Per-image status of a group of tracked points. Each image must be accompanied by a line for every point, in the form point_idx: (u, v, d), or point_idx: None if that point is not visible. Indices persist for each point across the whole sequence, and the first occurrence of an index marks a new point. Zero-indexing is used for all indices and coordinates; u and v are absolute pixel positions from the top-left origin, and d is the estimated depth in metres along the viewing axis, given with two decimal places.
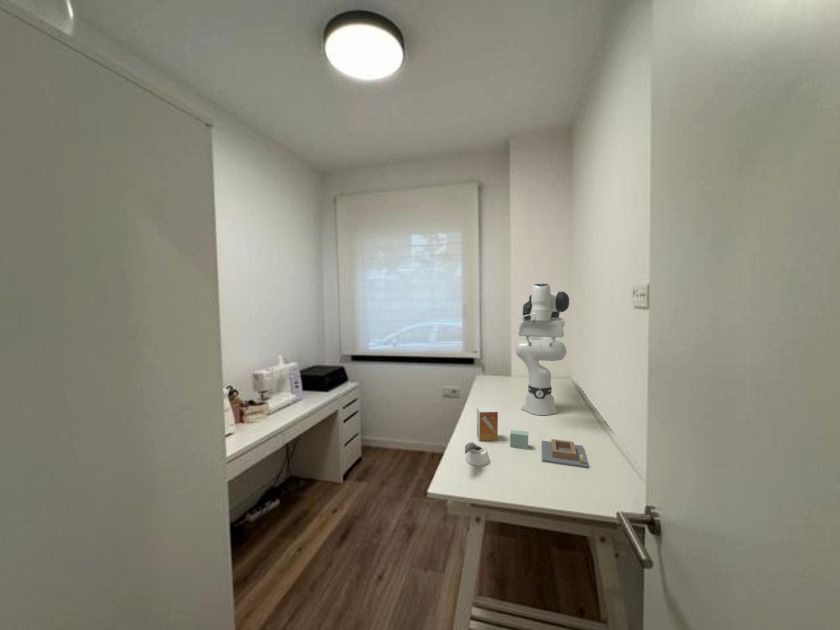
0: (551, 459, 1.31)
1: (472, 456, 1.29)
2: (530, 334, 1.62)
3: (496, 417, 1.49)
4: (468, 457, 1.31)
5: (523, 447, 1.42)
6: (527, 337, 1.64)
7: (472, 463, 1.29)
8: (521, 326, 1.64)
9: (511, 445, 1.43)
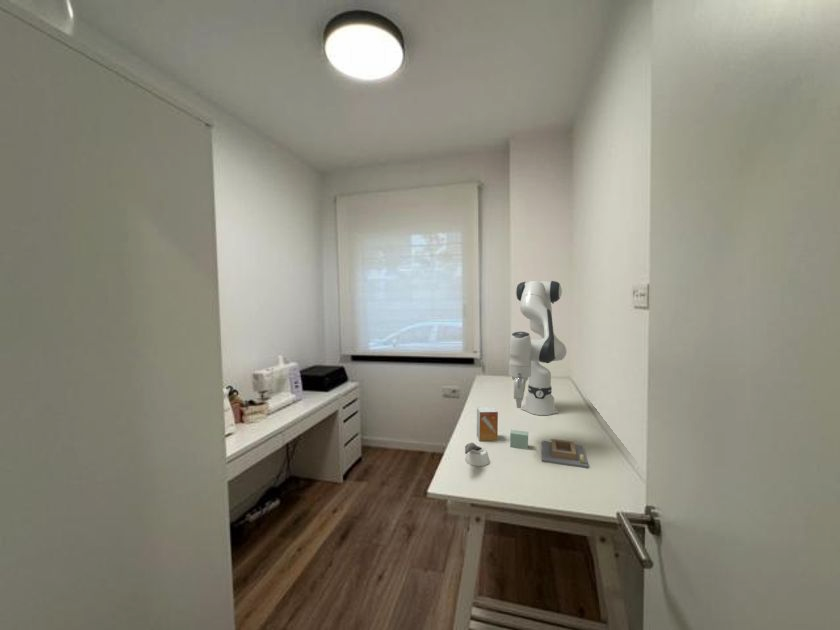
0: (551, 459, 1.31)
1: (472, 456, 1.29)
2: None
3: (496, 417, 1.49)
4: (468, 457, 1.30)
5: (523, 447, 1.42)
6: None
7: (472, 463, 1.28)
8: None
9: (511, 445, 1.43)
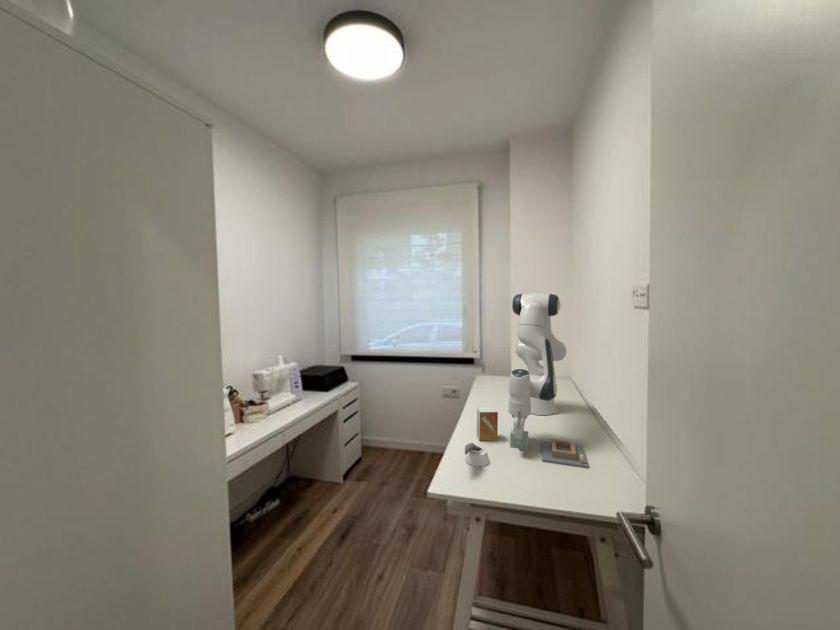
0: (551, 459, 1.31)
1: (472, 457, 1.29)
2: None
3: (496, 417, 1.49)
4: (468, 458, 1.30)
5: (523, 447, 1.42)
6: None
7: (472, 464, 1.28)
8: None
9: (511, 445, 1.43)
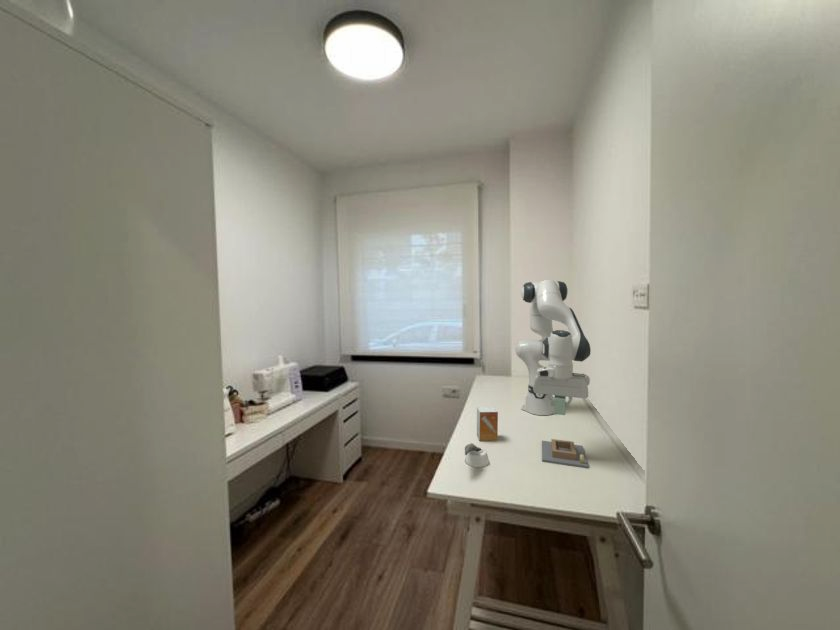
0: (551, 459, 1.31)
1: (472, 457, 1.28)
2: (547, 392, 1.36)
3: (496, 417, 1.49)
4: (468, 458, 1.30)
5: None
6: (549, 395, 1.37)
7: (472, 464, 1.28)
8: (536, 382, 1.37)
9: None
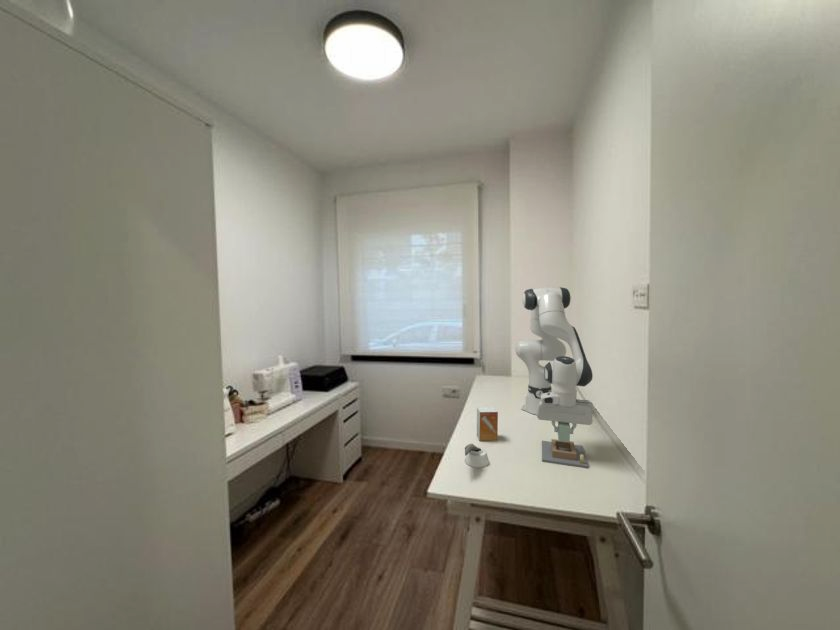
0: (551, 459, 1.31)
1: (472, 458, 1.28)
2: (551, 419, 1.36)
3: (496, 417, 1.49)
4: (467, 459, 1.29)
5: None
6: (553, 422, 1.36)
7: (472, 465, 1.28)
8: (541, 409, 1.37)
9: (569, 439, 1.33)
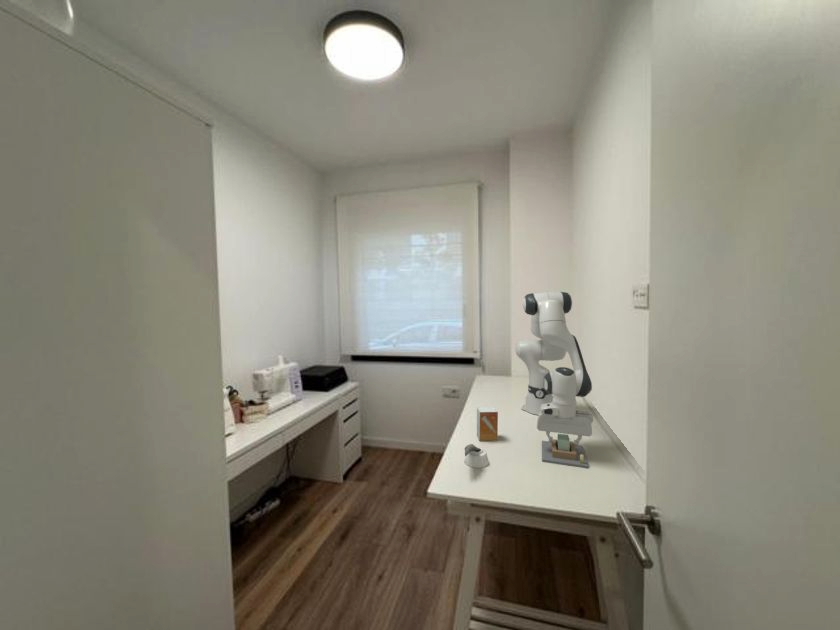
0: (551, 459, 1.31)
1: (471, 458, 1.28)
2: (551, 430, 1.36)
3: (496, 417, 1.49)
4: (467, 459, 1.29)
5: None
6: (547, 432, 1.37)
7: (471, 465, 1.27)
8: (540, 420, 1.37)
9: None
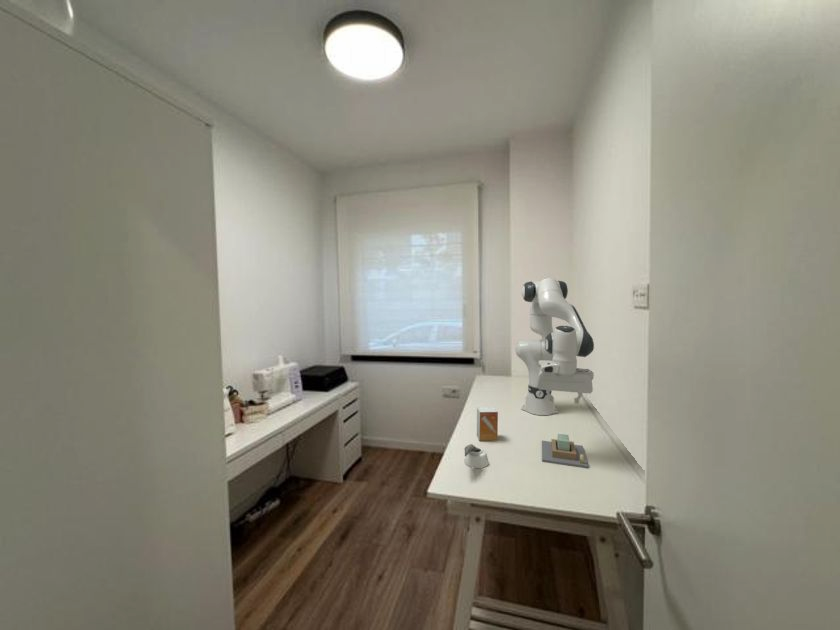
0: (551, 459, 1.31)
1: (471, 458, 1.28)
2: (551, 388, 1.35)
3: (496, 417, 1.49)
4: (467, 459, 1.29)
5: None
6: (548, 391, 1.37)
7: (471, 465, 1.27)
8: (541, 378, 1.36)
9: None
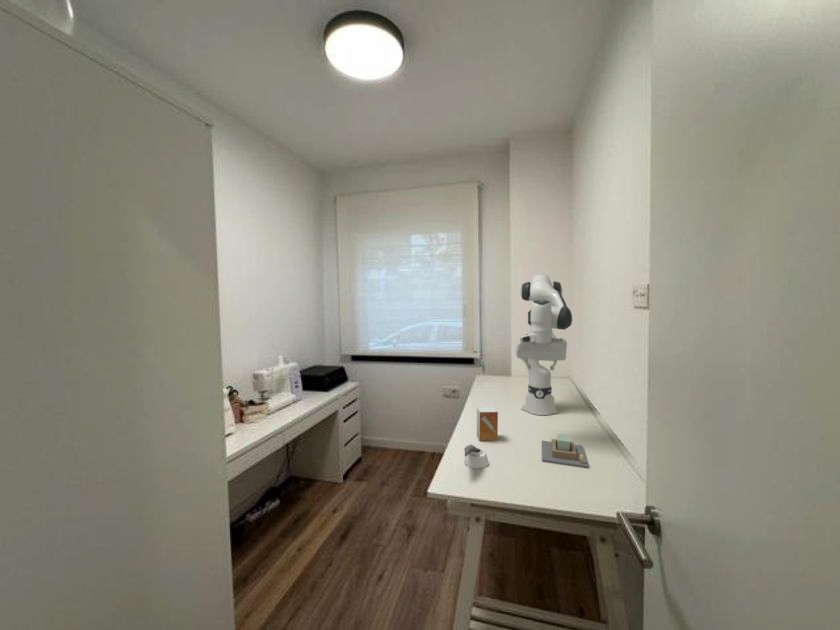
0: (551, 459, 1.31)
1: (471, 459, 1.27)
2: (529, 356, 1.49)
3: (496, 417, 1.49)
4: (467, 460, 1.29)
5: None
6: (526, 359, 1.50)
7: (471, 466, 1.27)
8: (519, 348, 1.49)
9: None
